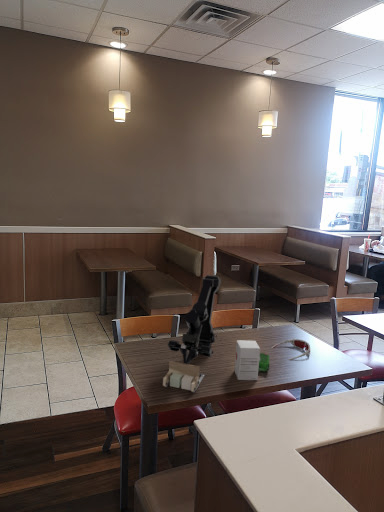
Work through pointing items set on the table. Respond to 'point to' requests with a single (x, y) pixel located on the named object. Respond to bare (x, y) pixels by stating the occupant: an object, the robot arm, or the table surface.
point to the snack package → (263, 362)
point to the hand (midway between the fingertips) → (184, 367)
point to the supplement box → (247, 360)
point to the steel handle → (197, 385)
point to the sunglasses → (299, 344)
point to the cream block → (187, 382)
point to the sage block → (176, 380)
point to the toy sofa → (183, 372)
